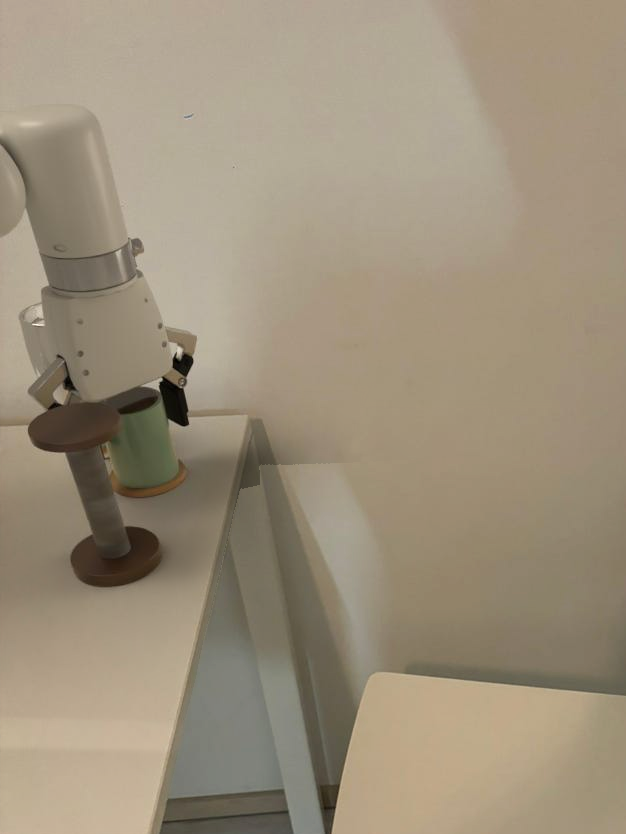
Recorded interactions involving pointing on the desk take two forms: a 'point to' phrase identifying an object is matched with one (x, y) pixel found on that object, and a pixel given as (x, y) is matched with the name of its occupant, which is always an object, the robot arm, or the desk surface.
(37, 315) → the beer glass
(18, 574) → the desk surface
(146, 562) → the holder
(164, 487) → the coaster
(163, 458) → the cup
